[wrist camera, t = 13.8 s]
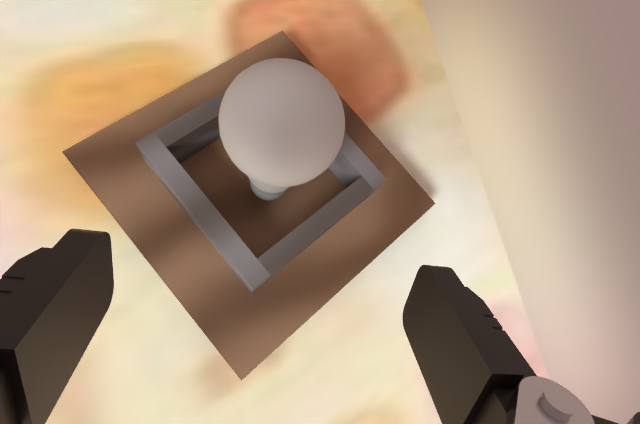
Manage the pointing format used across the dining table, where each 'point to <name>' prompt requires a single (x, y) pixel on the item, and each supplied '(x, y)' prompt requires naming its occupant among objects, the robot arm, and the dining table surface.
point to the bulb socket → (244, 213)
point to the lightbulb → (281, 124)
